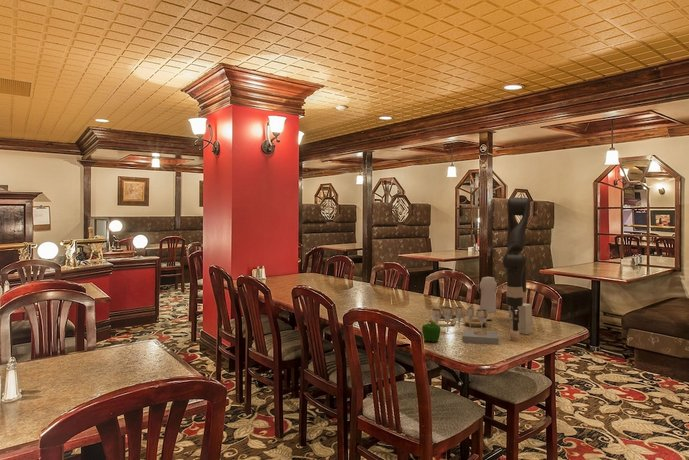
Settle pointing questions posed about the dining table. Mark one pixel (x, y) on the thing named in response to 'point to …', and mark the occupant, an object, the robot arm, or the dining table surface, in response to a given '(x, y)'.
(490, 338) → the notched board
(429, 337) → the bell pepper
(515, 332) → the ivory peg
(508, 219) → the robot arm
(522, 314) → the skincare box
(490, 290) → the tall pale column
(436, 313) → the goblet set
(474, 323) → the tableware set
